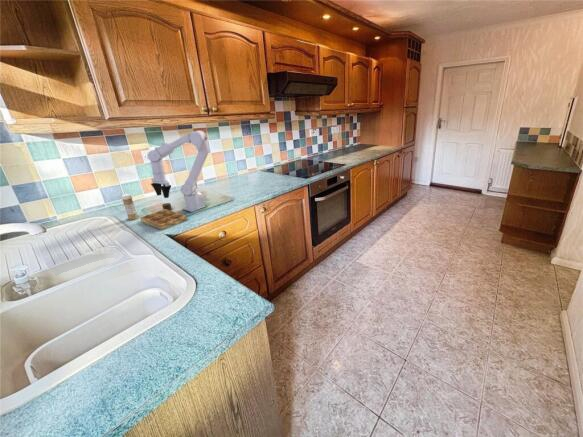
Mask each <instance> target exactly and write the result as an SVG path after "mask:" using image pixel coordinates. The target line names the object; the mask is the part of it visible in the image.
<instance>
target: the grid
mask: <svg viewBox="0 0 583 437" xmlns="http://www.w3.org/2000/svg"><path fill="white" fill-rule="evenodd" d="M187 220H188V219H187V215H185V214H183V213H182V214H181V213H179V212H176V211H172V210H171V211H170V210H167V209H164V210H163V209H161V210H158V211H154V212H152V213H149V214H146V215H144V216H140V221H141V223H144V224H146V225H148V226H151V227H154V228H156V229H158V230H161V231H163V230H167V229H168V228H171V227H173V226H176V225H179V224H181V223H183V222H186V221H187Z"/></svg>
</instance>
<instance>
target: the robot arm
mask: <svg viewBox="0 0 583 437" xmlns="http://www.w3.org/2000/svg"><path fill="white" fill-rule="evenodd" d="M208 141H209V138H208V136H207V134H206V133H205V132H204V131H203V130H200V129H199V130H196V131H192V132H189V133H186V134H184V135H182V136H180V137H179V138H177V139H175V140H174V141H172V142H162V143H161V145H159V146H156V147H154V149H152V150H149V151H148V152H147V159H148V160H149V161H150V166H151V172H152V176H153V178H151V182H152V183H150V185H151V187H152V188H153V190H154V191H155V194H156V196H162V195H163V198H164V199H168V198H169V197H170V190H171V188H172V185H171V184H170V182H169V181H168V180H167V179H166V174H165V173H166V172H165V167H164V163H163V162H164V161H163V159H164V158H166V157H168V156H170V155H171V154H174V152H175V149H177V148H179V147H180V146H182V145H184V144H192V145H194V146H195V148H196V150H197V154H196V157H195V160H194V162H193V164H192V167H191V168H190V172H189V175H188V177H187V178H186V180H185V181H184V184H183V185H181V186H180V192H181V194H182V195H183V200H184V203H185V207H184V208H183V210H184V211H188V212H189V213H192V212H195V211H198V210H200V209H203V208H206V205H205V202H204V196H203V194H202V193H201V192H200V191H197V189H198V181H199V180H198V179H199V178H200V175H201V172H202V170H203V168H204V165H205V162H206V160H207V158H208V156H209V152H210V147H209V142H208Z"/></svg>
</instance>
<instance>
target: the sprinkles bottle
mask: <svg viewBox="0 0 583 437" xmlns="http://www.w3.org/2000/svg"><path fill="white" fill-rule="evenodd" d="M120 198H121V200H122V202H123V205H124V209H125V213H126V215H127V217H128V218H127V219H128V220H129V221H132V220H136V219H138V218H139V216H138V214H137V209H136V207H135V204H134V201H133V196H132V193H125V194H122V195H121V196H120Z"/></svg>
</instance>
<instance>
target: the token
mask: <svg viewBox="0 0 583 437" xmlns="http://www.w3.org/2000/svg"><path fill="white" fill-rule="evenodd" d="M161 208H162V210H164V209H167V210H170V211H172V210H173V208H172V204H171V202H166V203H162V205H161Z"/></svg>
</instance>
